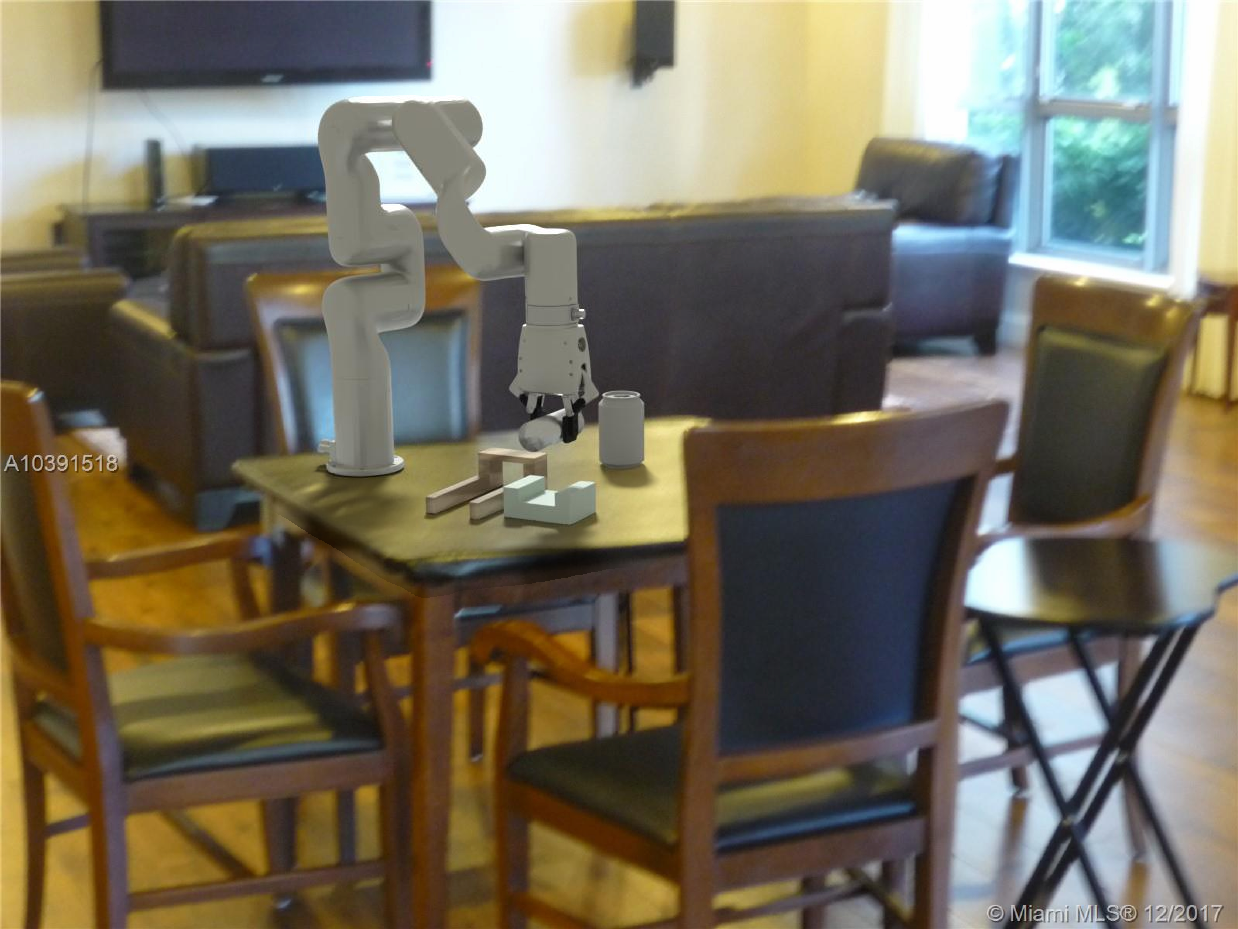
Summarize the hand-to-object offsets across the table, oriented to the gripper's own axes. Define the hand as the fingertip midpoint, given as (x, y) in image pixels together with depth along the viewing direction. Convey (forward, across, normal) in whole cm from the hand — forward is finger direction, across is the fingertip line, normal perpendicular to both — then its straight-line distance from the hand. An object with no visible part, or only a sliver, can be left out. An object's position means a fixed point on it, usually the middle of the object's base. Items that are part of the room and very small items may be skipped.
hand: (554, 438), depth 250 cm
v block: (+11, 0, +1) cm, 11 cm away
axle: (+1, 0, +1) cm, 1 cm away
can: (+11, +5, -32) cm, 34 cm away
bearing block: (+11, +13, -2) cm, 17 cm away
